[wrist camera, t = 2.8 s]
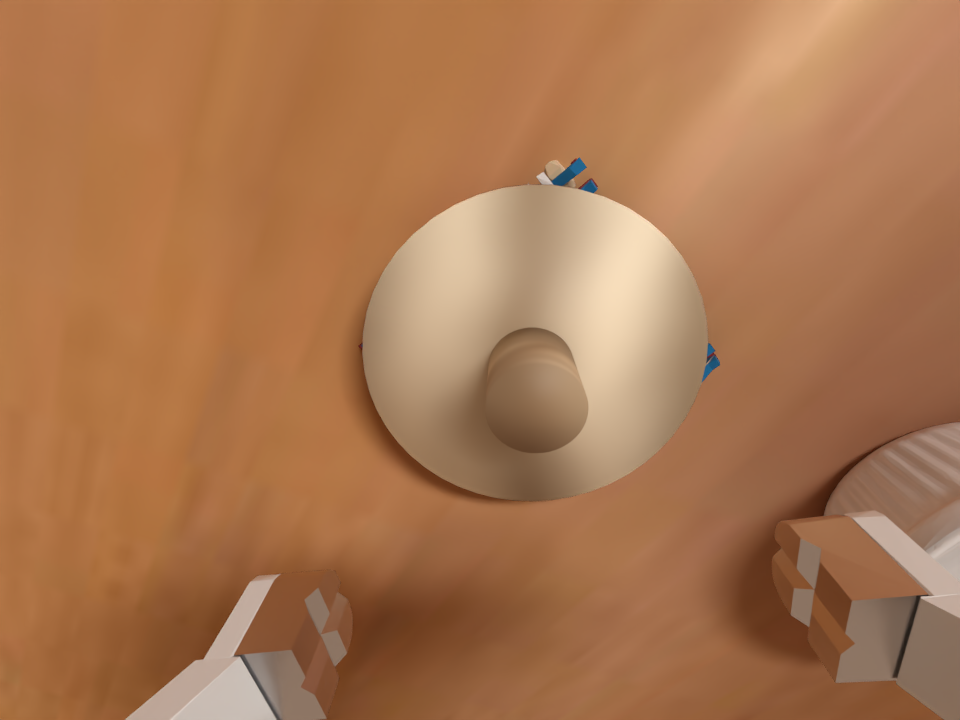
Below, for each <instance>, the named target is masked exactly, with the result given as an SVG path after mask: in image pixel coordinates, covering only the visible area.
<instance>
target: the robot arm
mask: <svg viewBox="0 0 960 720" xmlns="http://www.w3.org/2000/svg"><path fill="white" fill-rule="evenodd" d="M774 539H775V540H776V541H777V543H778V544H779V545H780V547H781V549H780V550H779V551H778V552H777V553H776V554H775V555H774V556H773V557H772V576H773V580H774V584H775V588H776V590H777V592H778V594H779V596H780V598H781V601H782V602H783V604H784V605H785V607H786V609H787V610H788V612H789V613H790V615H791V616H793V617H794V618H796V619H797V620H799V621H800V622H802V623H804V624H805V625H807V626H808V627H809V631H808V642H809V644H810V645H811V647H812V648H813V650H814V651H815V653H816V654H817V656H818V657H819V659H820V660H821V662H822V663H823V665H824V666H825V668H826V669H827V671H828V672H829V674H830V675H831V677H832V679H833V680H834V682H835V683H844V682H868V681H892V680H897V681H896V684H897V685H898V686H900V687H901V688H902V689H904V690H905V691H906V692H908V693H909V694H910V695H912V696H913V697H914V698H916V699H917V700H918V701H920V702H921V703H922V704H924V705H925V706H926V707H928V708H929V709H930V710H932V711H933V712H934V713H936V714H937V715H938V716H940V717H941V718H942V719H944V720H960V582H959V581H958V580H957V579H956V578H955V577H954V576H952V575H951V574H950V573H949V572H948V571H947V570H946V569H945V568H943V567H942V566H941V565H940V564H939V563H938V562H937V561H936V560H934V559H933V558H932V557H931V556H930V555H929V554H928V553H927V552H925V551H924V550H923V549H922V548H921V547H920V546H919V545H918V544H916V543H915V542H914V541H913V540H912V539H911V538H910V537H909V536H907V535H906V534H905V533H904V532H903V531H902V530H901V529H900V528H898V527H897V526H896V525H895V524H894V523H893V522H892V521H891V520H889V519H888V518H887V517H886V516H885V515H883V514H881V513H879V512H877V511H875V510H873V511H864V512H856V513H847V514H841V515H828V516H820V517H811V518H803V519H794V520H786V521H779V523H778V524H777V526H776V527H775V535H774ZM340 584H341V582H340V580H339V578H338V575H337V573H336V571H335V570H318V571H305V572H292V573H282V574H273V575H260V576H257V577H256V578H254V579H253V580H252V581H250V583H249V584H248V586H247V588H246V589H245V591H244V593H243V594H242V596H241V598H240V599H239V601H238V603H237V604H236V606H235V608H234V609H233V611H232V613H231V614H230V616H229V618H228V619H227V621H226V622H225V624H224V626H223V627H222V629H221V631H220V632H219V634H218V636H217V637H216V639H215V641H214V642H213V644H212V646H211V647H210V649H209V651H208V652H207V654H206V656H205V657H204V659H202V660H195V661H194V662H193V663H192V664H190V665H189V666H188V667H187V668H186V669H184V670H183V671H182V672H181V673H180V674H179V675H177V676H176V677H175V678H174V679H173V680H171V681H170V682H169V683H168V684H167V685H165V686H164V687H163V688H162V689H161V690H160V691H158V692H157V693H156V694H155V695H154V696H152V697H151V698H150V699H149V700H148V701H146V702H145V703H144V704H143V705H142V706H141V707H139V708H138V709H137V710H136V711H135V712H133V713H132V714H131V715H130V716H129V717H127V718H126V719H125V720H320V719H327V716H328V713H329V710H330V707H331V704H332V700H333V697H334V694H335V691H336V688H337V684H338V681H339V676H338V673H337V670H336V667H335V666H336V665H337V664H338V663H339V662H340V661H341V659H342V658H343V657H344V656H345V655H346V654H347V652H348V649H349V645H350V642H351V638H352V628H353V616H352V610H351V606H350V604H349V601H348V599H347V598H345V597H344V596H343V595H341V594H340V593H338V589H339V587H340Z"/></svg>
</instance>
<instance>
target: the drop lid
mask: <svg viewBox="0 0 960 720" xmlns="http://www.w3.org/2000/svg"><path fill="white" fill-rule="evenodd" d="M707 349H708V330H707V318H706V313H705V309H704V304H703V299H702V296H701V294H700V291H699V288H698V286H697V283H696V281H695V278H694V276H693V274H692V272H691V271H690V269H689V267H688V266H687V264H686V262H685V260H684V259H683V257H682V256H681V254H680V253H679V252H678V251H677V249H676V248H675V247H674V246H673V245H672V243H671V242H670V241H669V240H668V238H667V237H665V236H664V235H663V234H662V233H661V232H660V231H659V230H658V229H657V228H656V227H654V226H653V225H652V224H651V223H650V222H649V221H647V220H646V219H644V218H643V217H641V216H640V215H638V214H637V213H635V212H634V211H632V210H631V209H629V208H627V207H625V206H623V205H621V204H619V203H617V202H614V201H612V200H610V199H608V198H606V197H603V196H601V195H597V194H594V193H591V192H587V191H584V190H581V189H577V188H571V187H565V186H558V185H542V184H526V185H518V186H511V187H503V188H499V189H495V190H492V191H488V192H485V193H481V194H478V195H475V196H473V197H471V198H468V199H466V200H464V201H461V202H459V203H457V204H455V205H453V206H452V207H450V208H448V209H447V210H445V211H443V212H442V213H440V214H438V215H437V216H435V217H434V218H433V219H431V220H430V221H429V222H428V223H426V224H425V225H424V226H423V227H422V228H420V229H419V230H418V231H417V232H415V233H414V234H413V235H412V236H411V237H410V238H409V239H408V240H407V241H406V243H405V244H404V245H403V246H402V247H401V248H400V249H399V250H398V251H397V252H396V254H395V255H394V257H393V258H392V260H391V261H390V262H389V264H388V265H387V267H386V268H385V270H384V271H383V273H382V275H381V277H380V279H379V281H378V283H377V285H376V287H375V289H374V291H373V294H372V297H371V300H370V303H369V306H368V309H367V313H366V319H365V324H364V330H363V350H362V354H363V363H364V372H365V377H366V381H367V385H368V388H369V392H370V395H371V397H372V400H373V402H374V405H375V407H376V410H377V412H378V413H379V415H380V417H381V419H382V420H383V422H384V424H385V426H386V427H387V429H388V430H389V431H390V433H391V434H392V435H393V437H394V438H395V439H396V441H397V442H398V443H399V444H400V445H401V446H402V447H403V448H404V449H405V450H406V451H407V452H408V454H409V455H410V456H412V457H413V458H414V459H415V460H416V461H418V462H419V463H420V464H421V465H423V466H424V467H425V468H426V469H428V470H430V471H431V472H433V473H434V474H436V475H437V476H439V477H440V478H442V479H444V480H446V481H448V482H450V483H452V484H454V485H456V486H458V487H461V488H464V489H466V490H469V491H472V492H475V493H478V494H482V495H486V496H490V497H494V498H500V499H507V500H514V501H545V500H556V499H561V498H567V497H573V496H576V495H580V494H584V493H587V492H591V491H593V490H596V489H598V488H601V487H604V486H606V485H609V484H611V483H613V482H615V481H616V480H618V479H620V478H622V477H624V476H626V475H628V474H629V473H631V472H632V471H634V470H635V469H637V468H638V467H640V466H641V465H643V464H644V463H645V462H646V461H647V460H649V459H650V458H651V457H652V456H653V455H655V454H656V453H657V452H658V451H659V450H660V449H661V448H662V447H663V446H664V445H665V444H666V443H667V442H668V440H669V439H670V438H671V437H672V436H673V435H674V433H675V432H676V431H677V429H678V428H679V426H680V425H681V424H682V422H683V421H684V420H685V418H686V416H687V414H688V412H689V410H690V409H691V407H692V405H693V403H694V401H695V398H696V396H697V393H698V391H699V388H700V385H701V383H702V379H703V375H704V370H705V366H706V361H707Z"/></svg>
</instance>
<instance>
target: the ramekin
mask: <svg viewBox="0 0 960 720" xmlns="http://www.w3.org/2000/svg"><path fill="white" fill-rule="evenodd" d="M873 510H875V511H877V512H879V513H881V514H883V515H885V516H886V517H887V518H888V519H889V520H891V521H892V522H893V523H894V524H895V525H896V526H897V527H898V528H900V529H901V530H902V531H903V532H904V533H905V534H906V535H907V536H909V537H910V538H911V539H912V540H913V541H914V542H915V543H916V544H918V545H919V546H920V547H921V548H922V549H923V550H924V551H925V552H927V553H928V554H929V555H930V556H931V557H932V558H933V559H934V560H936V561H937V562H938V563H939V564H940V565H941V566H942V567H943V568H945V569H946V570H947V571H948V572H949V573H950V574H951V575H952V576H954V577H955V578H956V579H957V580H958V581H959V582H960V422H954V423H947V424H942V425H937V426H932V427H928V428H925V429H921V430H918V431H915V432H912V433H910V434H907V435H905V436H902V437H900V438H898V439H895V440H893V441H891V442H889V443H887V444H885V445H884V446H882V447H880V448H878V449H877V450H875V451H874V452H872V453H871V454H869V455H868V456H866V457H865V458H864V459H863V460H861V461H860V462H859V463H858V464H856V465H855V466H854V467H853V468H852V469H851V470H850V471H849V472H848V473H847V474H846V475H845V476H844V477H843V478H842V480H841V481H840V482H839V483H838V485H837V486H836V488H835V489H834V491H833V492H832V494H831V496H830V498H829V500H828V502H827V505H826V508H825V511H824V515H823V516H828V515H841V514H847V513H856V512H864V511H873ZM895 681H897V680H895Z"/></svg>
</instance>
